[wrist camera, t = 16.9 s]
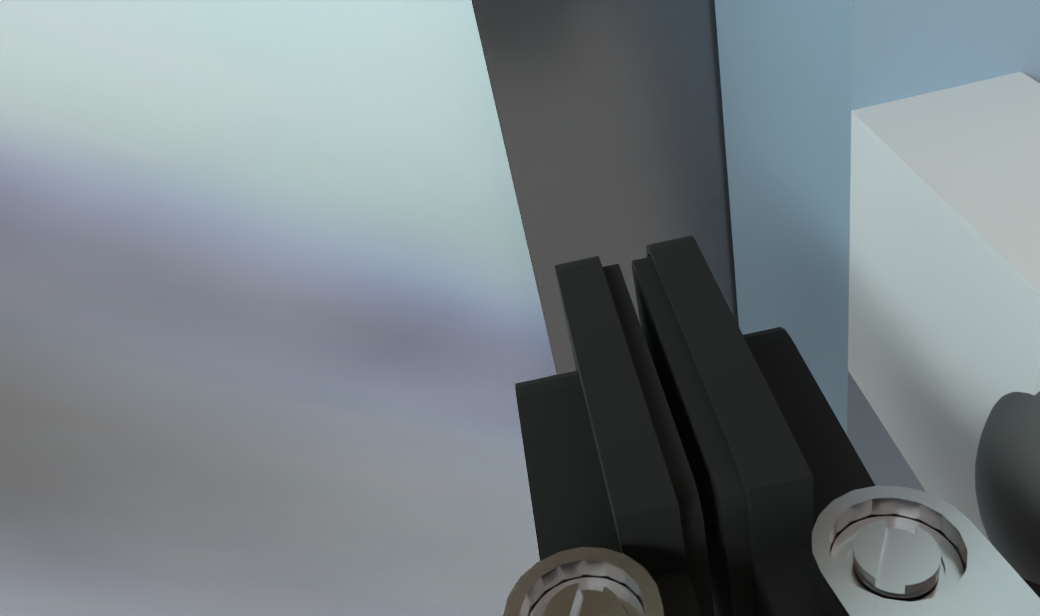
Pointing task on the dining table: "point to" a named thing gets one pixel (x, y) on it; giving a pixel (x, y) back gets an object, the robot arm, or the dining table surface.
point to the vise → (610, 135)
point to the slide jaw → (899, 232)
